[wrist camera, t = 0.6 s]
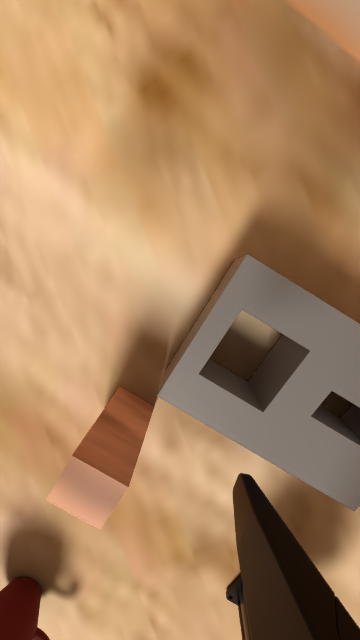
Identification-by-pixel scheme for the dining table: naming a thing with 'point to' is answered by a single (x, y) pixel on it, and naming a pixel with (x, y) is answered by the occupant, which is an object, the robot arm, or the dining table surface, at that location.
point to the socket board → (277, 380)
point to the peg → (104, 460)
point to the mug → (20, 611)
